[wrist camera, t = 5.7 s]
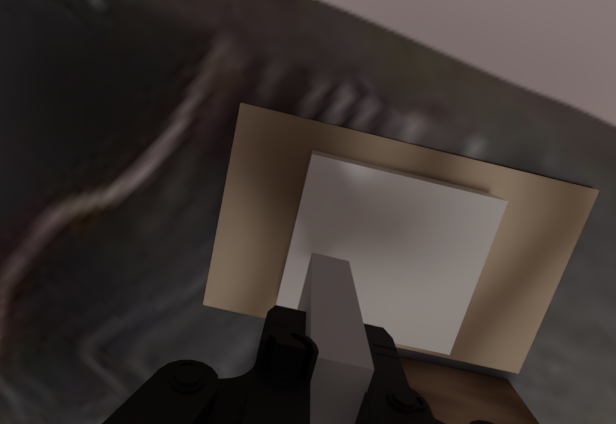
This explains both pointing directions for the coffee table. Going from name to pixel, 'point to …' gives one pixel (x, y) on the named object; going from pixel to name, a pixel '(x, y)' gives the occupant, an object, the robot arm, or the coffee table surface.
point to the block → (394, 245)
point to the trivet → (411, 159)
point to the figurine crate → (466, 395)
